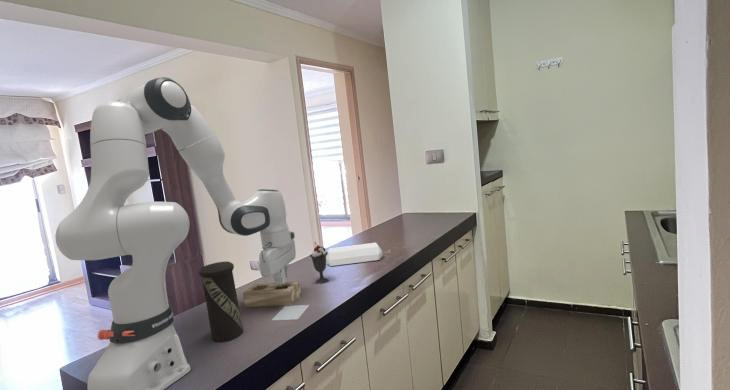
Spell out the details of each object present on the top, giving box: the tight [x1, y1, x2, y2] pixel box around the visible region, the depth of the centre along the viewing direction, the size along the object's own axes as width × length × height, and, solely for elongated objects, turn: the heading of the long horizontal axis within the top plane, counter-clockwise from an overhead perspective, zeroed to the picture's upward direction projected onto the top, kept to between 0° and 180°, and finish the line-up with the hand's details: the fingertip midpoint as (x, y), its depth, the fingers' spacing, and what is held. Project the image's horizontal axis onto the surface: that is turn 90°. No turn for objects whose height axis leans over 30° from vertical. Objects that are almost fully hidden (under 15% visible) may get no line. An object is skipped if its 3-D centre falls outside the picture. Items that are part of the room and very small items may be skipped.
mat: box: [271, 304, 310, 321], centre depth 115 cm, size 10×8×1 cm
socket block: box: [242, 280, 302, 308], centre depth 126 cm, size 8×16×5 cm, turn 79°
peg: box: [277, 267, 288, 289], centre depth 125 cm, size 3×3×10 cm
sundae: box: [309, 242, 330, 284], centre depth 141 cm, size 7×7×15 cm
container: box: [198, 261, 244, 343], centre depth 103 cm, size 9×9×20 cm
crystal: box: [326, 242, 383, 267], centre depth 162 cm, size 7×7×24 cm
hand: (281, 281), depth 125 cm, fingers closed on peg, 3 cm apart
